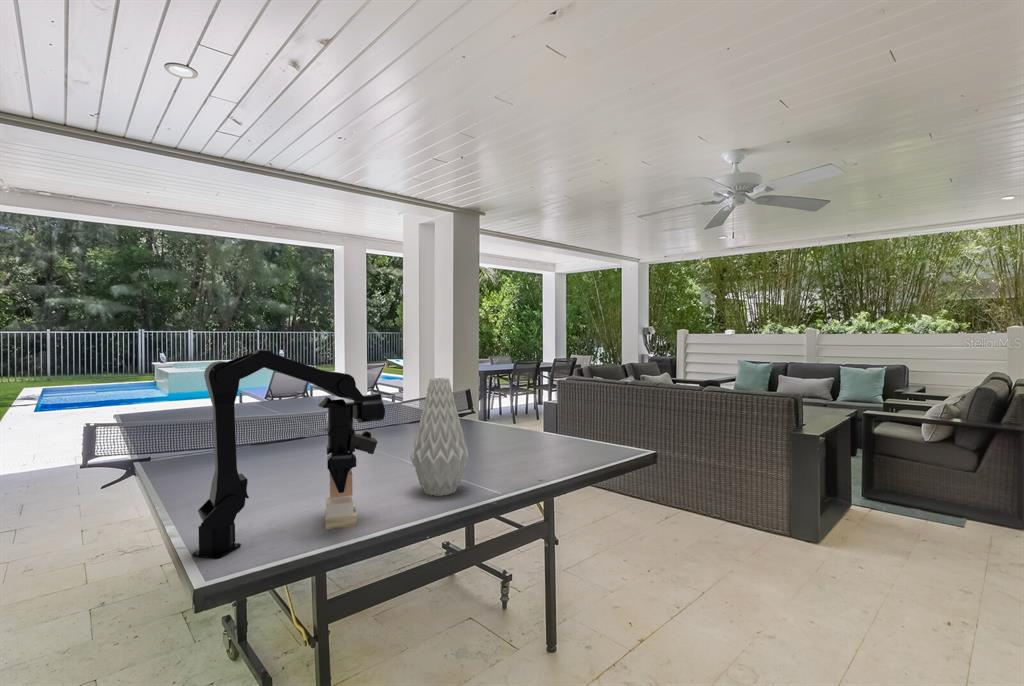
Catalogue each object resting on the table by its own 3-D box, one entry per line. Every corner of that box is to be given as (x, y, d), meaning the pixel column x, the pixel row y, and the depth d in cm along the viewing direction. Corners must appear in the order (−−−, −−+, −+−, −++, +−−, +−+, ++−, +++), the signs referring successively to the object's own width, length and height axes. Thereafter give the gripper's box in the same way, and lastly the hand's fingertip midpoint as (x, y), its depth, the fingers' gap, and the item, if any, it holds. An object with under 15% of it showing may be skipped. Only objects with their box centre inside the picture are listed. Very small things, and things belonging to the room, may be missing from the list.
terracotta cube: (352, 495, 121) (352, 474, 121) (330, 497, 119) (330, 476, 119) (351, 489, 126) (351, 469, 126) (329, 491, 124) (329, 471, 124)
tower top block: (353, 514, 121) (353, 502, 121) (326, 518, 119) (326, 505, 119) (351, 507, 127) (351, 495, 126) (325, 510, 124) (325, 497, 124)
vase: (403, 488, 150) (402, 377, 150) (455, 480, 158) (454, 375, 158) (422, 504, 136) (421, 382, 135) (478, 494, 144) (477, 379, 143)
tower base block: (356, 527, 121) (356, 515, 121) (325, 531, 118) (325, 518, 118) (355, 517, 127) (355, 505, 127) (325, 521, 125) (325, 509, 125)
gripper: (378, 429, 116) (379, 497, 117) (371, 417, 134) (371, 476, 134) (327, 432, 113) (327, 502, 113) (326, 420, 130) (327, 480, 130)
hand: (341, 489), depth 122 cm, fingers closed on terracotta cube, 5 cm apart
